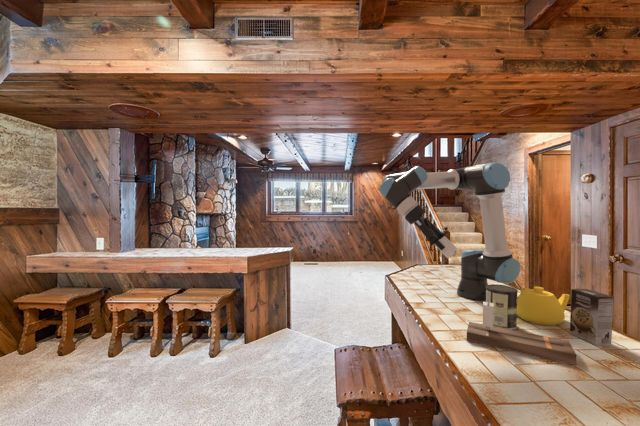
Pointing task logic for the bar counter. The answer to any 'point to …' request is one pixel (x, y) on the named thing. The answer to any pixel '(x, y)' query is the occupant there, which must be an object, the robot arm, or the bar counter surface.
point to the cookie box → (591, 316)
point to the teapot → (541, 306)
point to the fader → (488, 314)
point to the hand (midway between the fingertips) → (452, 253)
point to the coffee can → (503, 305)
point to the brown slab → (522, 342)
